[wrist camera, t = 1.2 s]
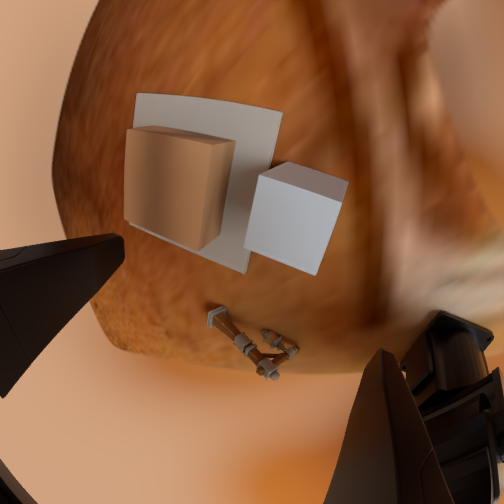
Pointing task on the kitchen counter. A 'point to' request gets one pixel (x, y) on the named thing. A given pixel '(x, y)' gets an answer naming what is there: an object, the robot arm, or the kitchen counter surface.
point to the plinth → (177, 183)
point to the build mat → (243, 165)
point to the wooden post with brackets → (249, 349)
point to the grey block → (294, 215)
